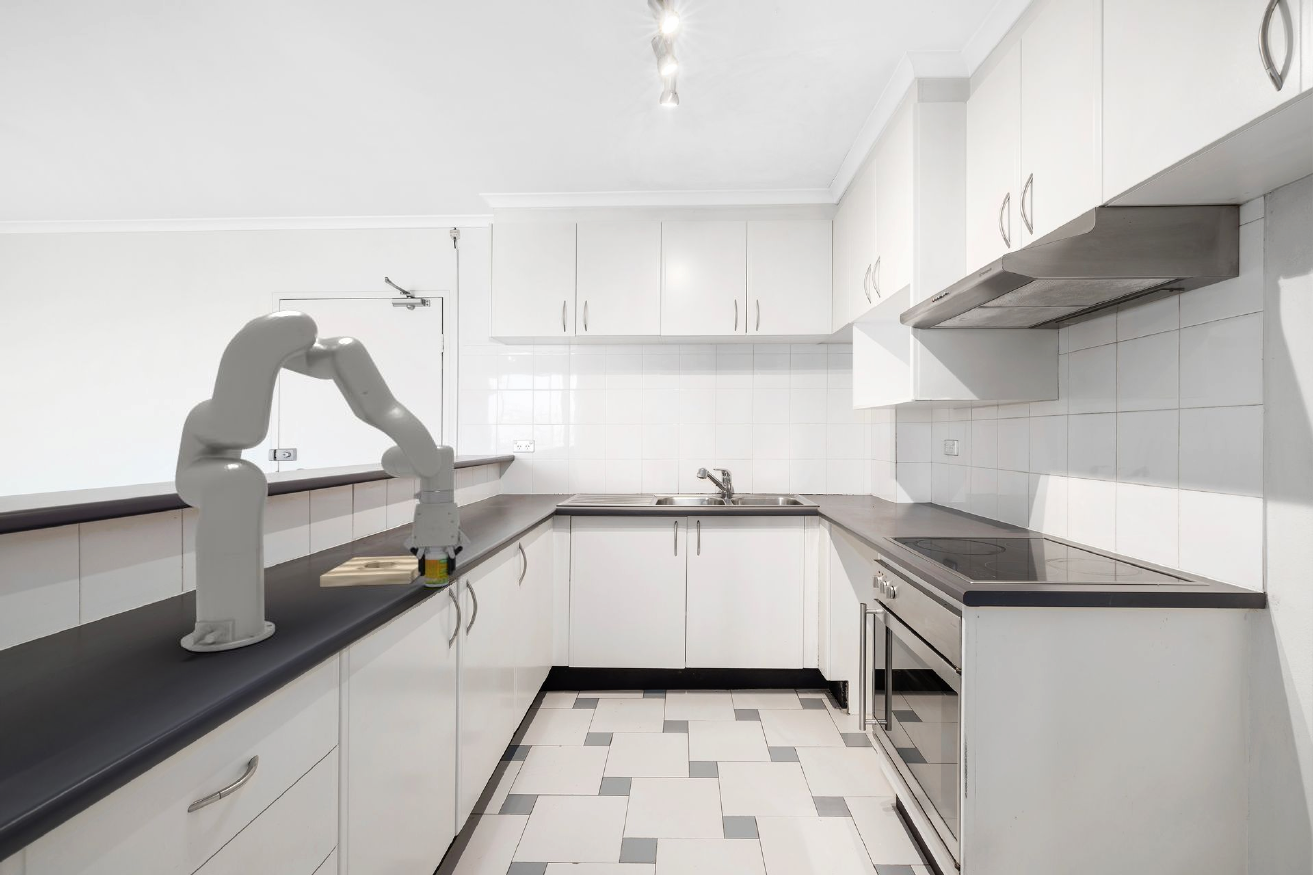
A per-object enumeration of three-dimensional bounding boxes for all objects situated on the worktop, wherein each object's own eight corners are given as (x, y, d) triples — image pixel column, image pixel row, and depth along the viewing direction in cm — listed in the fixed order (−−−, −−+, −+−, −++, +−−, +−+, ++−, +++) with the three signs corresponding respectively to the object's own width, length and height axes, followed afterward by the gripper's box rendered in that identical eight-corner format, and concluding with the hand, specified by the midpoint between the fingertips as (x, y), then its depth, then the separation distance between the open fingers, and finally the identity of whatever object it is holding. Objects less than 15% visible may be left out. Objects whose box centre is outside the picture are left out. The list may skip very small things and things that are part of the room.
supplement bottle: (440, 587, 131) (440, 545, 131) (419, 586, 133) (419, 544, 133) (453, 582, 137) (453, 541, 137) (433, 581, 138) (433, 540, 138)
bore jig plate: (409, 583, 136) (409, 573, 136) (320, 586, 133) (320, 576, 133) (431, 564, 156) (431, 555, 156) (354, 566, 153) (354, 557, 153)
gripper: (393, 499, 130) (393, 579, 130) (471, 498, 132) (471, 577, 132) (403, 496, 137) (403, 571, 137) (477, 495, 139) (477, 569, 139)
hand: (437, 573), depth 135 cm, fingers closed on supplement bottle, 5 cm apart
